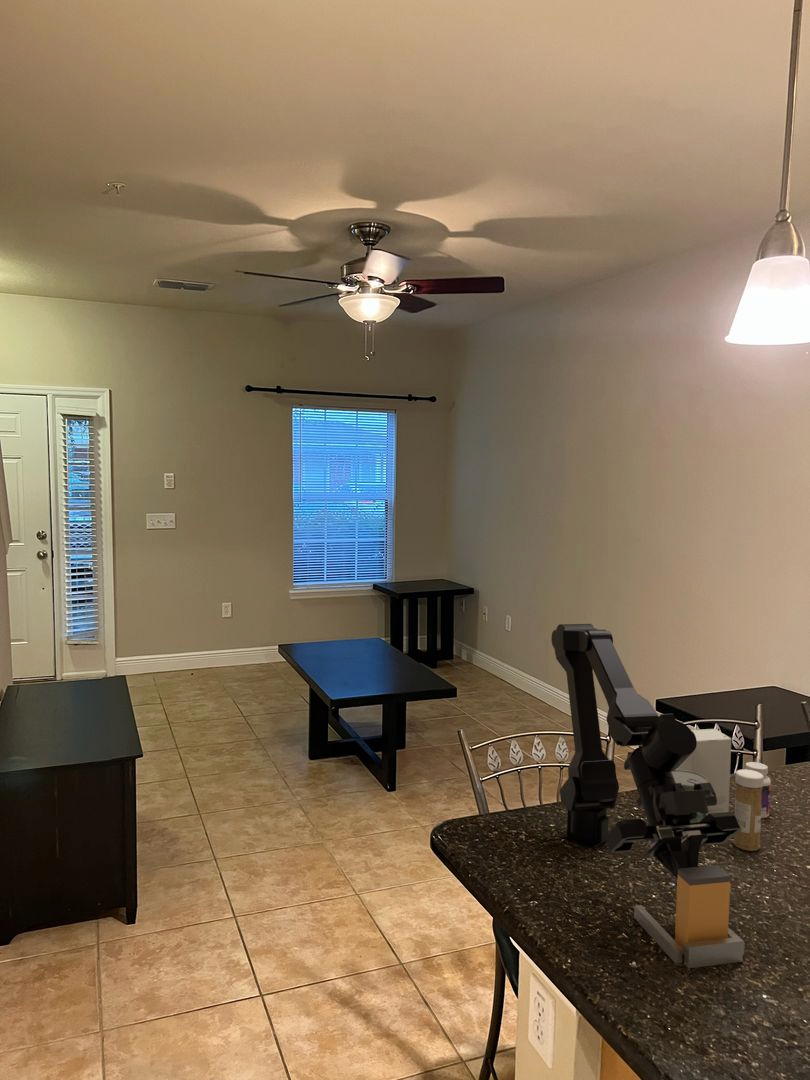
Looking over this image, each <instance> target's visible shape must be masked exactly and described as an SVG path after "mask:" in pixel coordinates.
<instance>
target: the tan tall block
mask: <svg viewBox="0 0 810 1080" xmlns="http://www.w3.org/2000/svg"><path fill="white" fill-rule="evenodd" d="M731 876H732V875H730V874H729V873H727V871H725V870H724V869H723V868H721V867H720V866H719V865H718V864H715V865H714V864H713V865H703V866H698V867H692V868H681V869H678V878H677V879H676V881H677V882H676V883H677V884H676V901H675V902H676V903H675V905H676V906H675V926H674V927H675V929H674V940H675V941H676V942H677V944H678V945H679V946H680V947H681V948H682V949H683V955H684V951H685V943H688V942H697V941H705V940H714V939H723V938H728V927H729V921H730V920H729V919H730V900H731V897H730V896H731V879H732V878H731Z"/></svg>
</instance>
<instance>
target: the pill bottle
mask: <svg viewBox="0 0 810 1080" xmlns="http://www.w3.org/2000/svg"><path fill="white" fill-rule="evenodd" d="M744 769H746V770H753V771H757V772H759V773H761V774H762V775H763V777H764V782H763V786H762V795H761V796H762V797H761V819H765V818H768V817H769V816H770V810H771V809H770V808H771V789H772V782H771V778H770V777H769V776H767V775H768V773H769V772H768V770H769V768H768V765H766V764H764V763H762V762H756V761H748V762H746V763H745V768H744Z"/></svg>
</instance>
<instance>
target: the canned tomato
mask: <svg viewBox="0 0 810 1080" xmlns="http://www.w3.org/2000/svg"><path fill="white" fill-rule="evenodd" d="M672 774H673V777H674V780H675V782H676V783H681V785H683V787H684V789H685V791H691V790H694V784H699V783H708V779H707V778H706V777H705V776H703V775H701V774H698V773H695V772H692V771H686V770H678V769H676V770H674V771H672ZM696 813H697V815H698V816H697V817H696V818H695V819H691V820H690V822H691V823H697V822H700V821H701V820H702V819H703V818H705V817H706V813H703V814H702V813H701V812H696ZM682 831H684V830H682Z"/></svg>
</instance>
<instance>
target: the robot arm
mask: <svg viewBox="0 0 810 1080" xmlns="http://www.w3.org/2000/svg"><path fill="white" fill-rule="evenodd" d="M550 641H551V645H552V647H553V649H554V654H555V659H556V661H557V662H558V663H559V664H560V666H561V667H562V668H563V670H564V671H565V673H566V680H567V681H566V682H567V689H568V696H569V697H568V700H569V706H570V707H569V708H570V716H571V724H572V734H573V745H574V754H573V756H572V758H571V761H570V763H569V765H568V767H567V770H568V771H567V772H568V773H567V774H568V776H567V777H568V778H567V779H566V781H565V782H564V783H563V785H562V786H561V787H560V789H559V799H560V802H561V803H562V805H563V806H565V807H566V809H567V811H566V812H567V813H566V817H567V818H566V824H567V825H566V832H564V833H562V834H561V838H562V839H565V840H568V841H571V842H573V843H575V844H578V845H581V846H583V847H586V848H589V849H595V848H597V847H598V846H600V845H601V844H603V843H604V842H606V844H607V847H608V850H609V852H610V853H612V854H614V853H615V854H616V853H629V852H630V851H631V849H632V847H633V845H634V844H633V843H635V842H647V841H648V844H649V847H650V848H649V849H648V850H647V851H646V854H647V855H648V856H653V857H655V859H656V860H658V862H659V863H661V864H662V865H663V866H664V868H666V869H667V871H669V872H670V873H671V875H672V876H673V877H674V878H675V879H676V880H677V878H678V869H681V868H692V867H699V855H700V854H699V853H700V850H701V845H705V846H707V845H708V846H711V845H720V844H724V843H726V842H728V840H730V839H731V838H732V837H734V835H735V834H736V833H738V832H739V831H740V830H741V826H740V824H739V822H738V819H737V818H736V816H735V815H734V813H732V812H730V811H729V812H722V813H709V811H708V806H715V805H716V804H717V798H716V793H715V791H714V789H713V787H712V785H711V783H699V784H694V790H691V791H685V789H684V787H683V785H681V783H676V782H675V780H674V777H673V774H672V771H674V770H678V767H679V766H680V765H681V764H682V763H683V762H684V761H685V760H686V759H687V758H688V757H689V756H690V755H691V754H692V753H693V752H694V750H695V749H696V746H697V740H696V736H695V734H694V732H692V731H691V730H692V729H690V727H688V726H687V724H684V723H683V722H682V721H679V720H677V718H676V717H675V715H674V713H660V714H659V715H658V713H657V711H656V710H655V708H654V707H653V705H652V704H651V702H650V701H649V700H648V699H647V698H645V697H644V696H642V695H641V694H639V693H638V692H637V691H636V689H635V687H634V685H633V683H632V681H631V679H630V677H629V674H628V673H627V671H626V668H625V666H624V665H623V662H622V660H621V658H620V656H619V654H618V652H617V649H616V648H615V646H614V639H613V635H612V633H611V631H609V630H606V629H598V628H595V626H594V625H593V624H592V623H564V624H563V623H560V624H558V625H557V627H556V629H555V630H554V629H553V631H552V633H551V640H550ZM594 676H595V678H596V679H597V682H598V684H599V686H600V689H601V691H602V693H603V695H604V697H605V700H606V703H607V707H608V711H607V715H606V720H605V721H606V723H607V726H608V733H609V735H610V738H611V739H612V740H613V742H614V744H616V745H617V746H620V747H636V748H635V749H634V750H632V751H628V752H627V757H626V759H625V760H624V763H623V769H624V770H625V771H628V770H629V771H630V773H631V774H632V778H633V781H634V784H635V787H636V789H637V793H638V795H639V798H638V799H637V800H636V803H637V806H638V808H643V811H644V815H645V816H646V818H647V819H646V820H647V822H646V821H644V820H643V819H642V818H632V819H631V818H630V819H621V820H617V822H616V823H615V824H614V826H612V827H611V829H609V822H610V821H609V816H607V809H615V805H616V802H617V798H618V795H619V790H620V785H619V781H618V778H617V771H616V769H617V767H616V763H615V761H614V759H609V758H608V756H607V755H606V754H605V751H604V750H603V746H602V737H601V729H600V720H599V712H598V704H597V697H596V696H597V694H596V688H595V687H596V686H595V678H594ZM696 812H701V813H702V814H703V813H709V814H708V815H707V816H706V817H705V818H703V819H702V820H701V821H700V822H697V823H691V822H690V820H691V819H695V818H696V817H697V816H698V815H697V813H696ZM646 823H648V824H646ZM682 830H684V831H682Z"/></svg>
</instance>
